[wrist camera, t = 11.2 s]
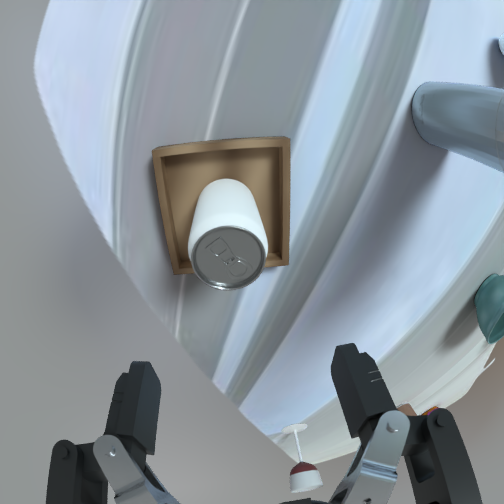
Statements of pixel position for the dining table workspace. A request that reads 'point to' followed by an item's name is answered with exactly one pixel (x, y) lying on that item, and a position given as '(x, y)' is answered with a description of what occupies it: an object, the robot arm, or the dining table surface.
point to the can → (227, 236)
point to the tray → (224, 167)
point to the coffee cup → (406, 409)
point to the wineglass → (302, 467)
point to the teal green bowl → (491, 308)
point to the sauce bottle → (501, 43)
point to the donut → (429, 411)
